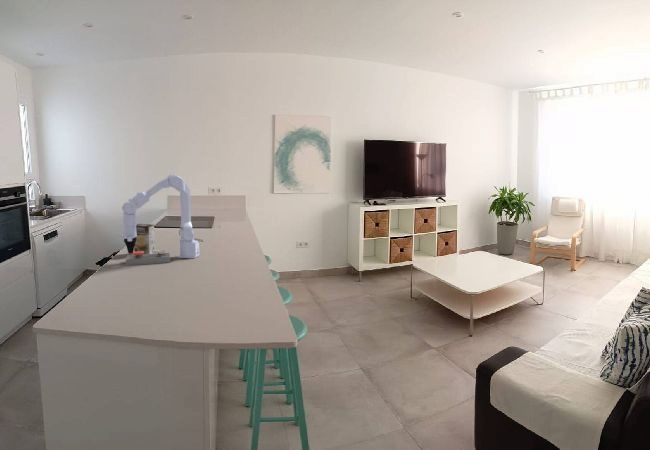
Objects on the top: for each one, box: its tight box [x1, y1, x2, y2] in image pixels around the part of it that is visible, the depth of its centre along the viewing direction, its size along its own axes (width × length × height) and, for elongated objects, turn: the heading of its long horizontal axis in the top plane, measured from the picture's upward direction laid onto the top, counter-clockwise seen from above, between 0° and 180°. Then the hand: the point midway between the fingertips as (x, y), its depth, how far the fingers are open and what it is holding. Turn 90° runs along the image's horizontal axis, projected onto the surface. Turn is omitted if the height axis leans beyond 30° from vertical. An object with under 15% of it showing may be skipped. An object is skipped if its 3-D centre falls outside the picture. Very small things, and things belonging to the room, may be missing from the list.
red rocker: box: [130, 251, 144, 255], centre depth 202 cm, size 6×3×1 cm, turn 114°
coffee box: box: [133, 223, 156, 254], centre depth 219 cm, size 9×6×16 cm
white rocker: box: [152, 249, 166, 254], centre depth 206 cm, size 6×3×1 cm, turn 114°
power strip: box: [125, 252, 171, 266], centre depth 203 cm, size 20×9×3 cm, turn 114°
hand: (130, 252), depth 201 cm, fingers closed, pressing on red rocker
